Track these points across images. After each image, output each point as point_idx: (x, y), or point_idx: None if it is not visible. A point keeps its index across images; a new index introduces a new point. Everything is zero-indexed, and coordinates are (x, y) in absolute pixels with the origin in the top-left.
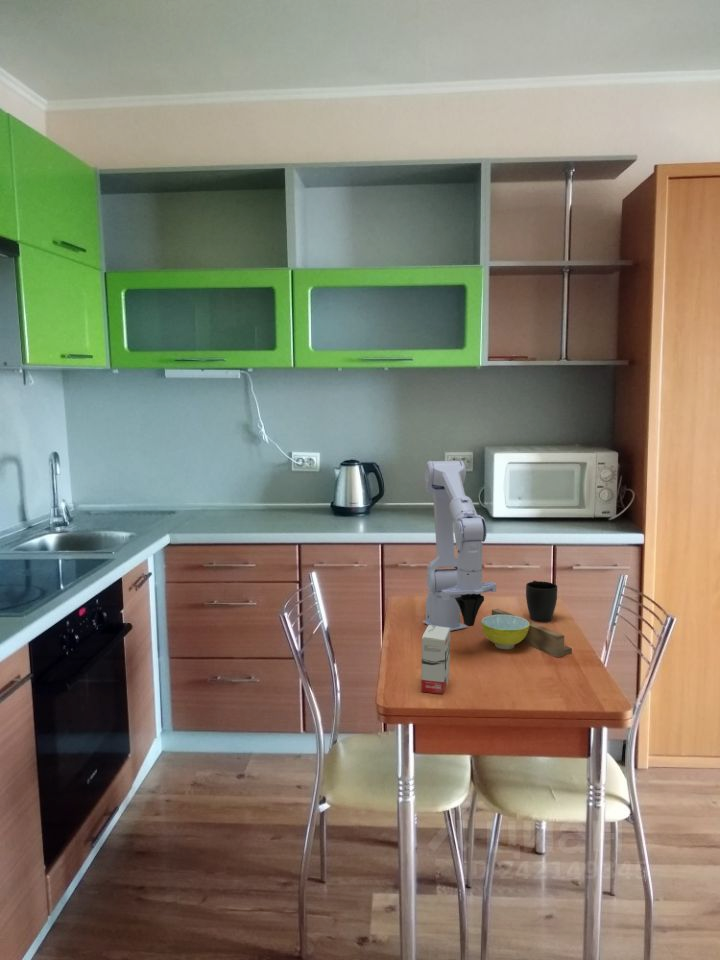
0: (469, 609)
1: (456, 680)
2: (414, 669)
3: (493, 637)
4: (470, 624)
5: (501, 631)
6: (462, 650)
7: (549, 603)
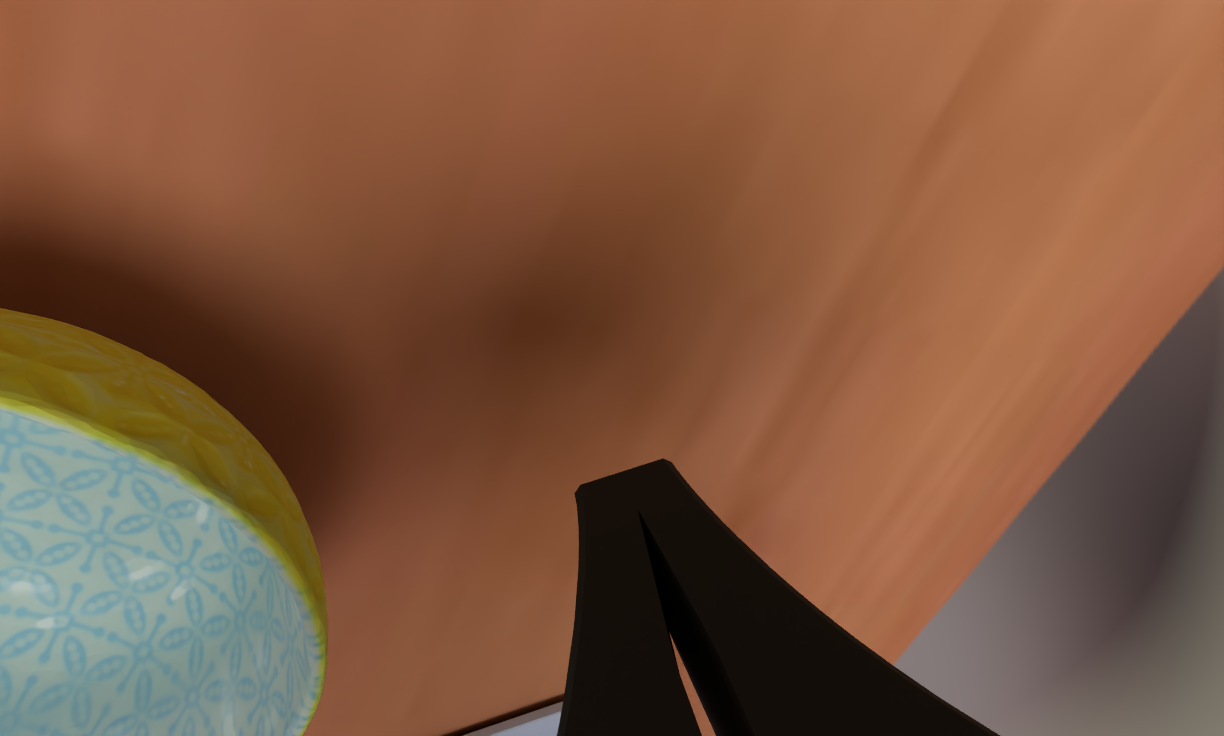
0: (897, 709)
1: None
2: (1204, 45)
3: (218, 407)
4: (661, 477)
5: (42, 384)
6: (574, 390)
7: None
